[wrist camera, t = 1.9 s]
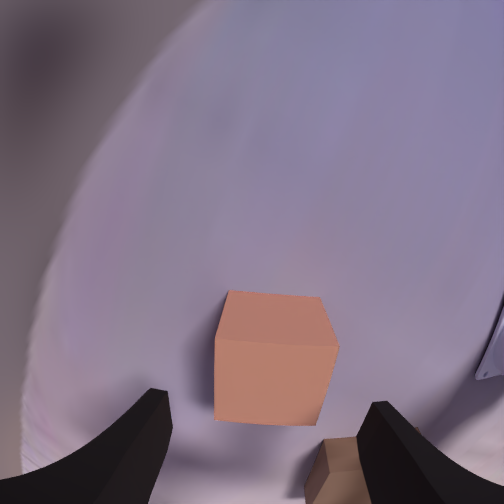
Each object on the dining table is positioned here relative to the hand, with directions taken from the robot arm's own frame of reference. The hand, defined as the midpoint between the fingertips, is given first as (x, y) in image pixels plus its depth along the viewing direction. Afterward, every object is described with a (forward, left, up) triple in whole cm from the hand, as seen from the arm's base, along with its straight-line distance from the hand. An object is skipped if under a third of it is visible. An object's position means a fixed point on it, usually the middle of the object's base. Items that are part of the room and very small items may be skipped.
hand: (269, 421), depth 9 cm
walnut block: (-9, +13, -7) cm, 17 cm away
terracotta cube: (0, 0, -6) cm, 6 cm away
